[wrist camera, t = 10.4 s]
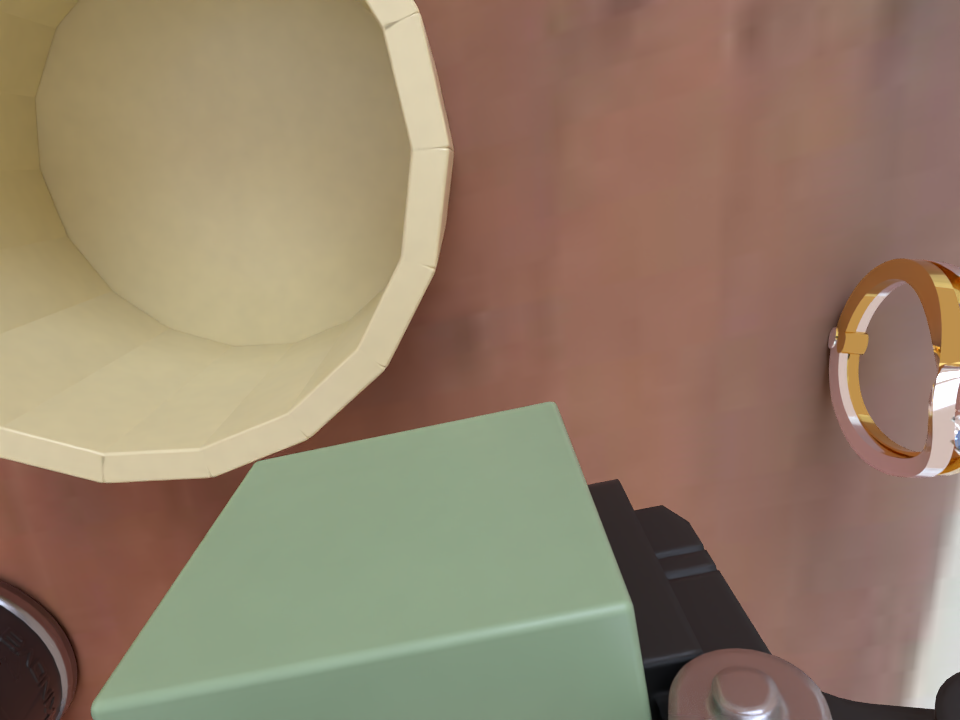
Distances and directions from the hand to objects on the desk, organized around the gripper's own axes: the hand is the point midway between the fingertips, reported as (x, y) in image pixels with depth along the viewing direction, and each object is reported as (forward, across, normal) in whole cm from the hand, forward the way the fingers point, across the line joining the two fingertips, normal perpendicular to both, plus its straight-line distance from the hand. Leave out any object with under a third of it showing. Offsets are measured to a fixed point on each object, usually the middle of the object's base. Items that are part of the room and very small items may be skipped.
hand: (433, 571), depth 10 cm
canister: (+15, +6, -7) cm, 18 cm away
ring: (+15, -14, +4) cm, 21 cm away
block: (0, 0, 0) cm, 0 cm away
